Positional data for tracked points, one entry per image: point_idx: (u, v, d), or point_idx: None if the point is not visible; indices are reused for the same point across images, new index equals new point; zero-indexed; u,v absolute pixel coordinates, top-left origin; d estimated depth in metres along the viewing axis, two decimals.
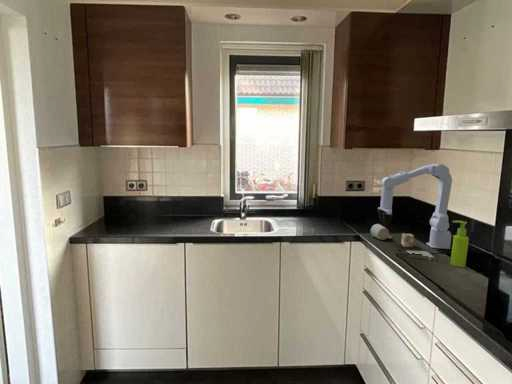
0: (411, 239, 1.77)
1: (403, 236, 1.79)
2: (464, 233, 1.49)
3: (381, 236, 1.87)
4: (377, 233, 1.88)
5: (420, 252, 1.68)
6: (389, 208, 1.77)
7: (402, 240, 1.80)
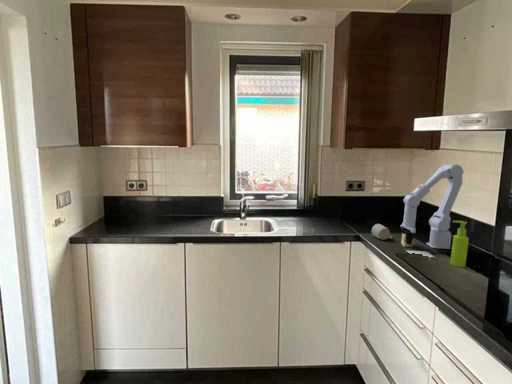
0: None
1: (403, 236, 1.79)
2: (464, 233, 1.49)
3: (382, 236, 1.87)
4: (378, 233, 1.88)
5: (420, 252, 1.68)
6: (412, 226, 1.75)
7: (402, 240, 1.80)
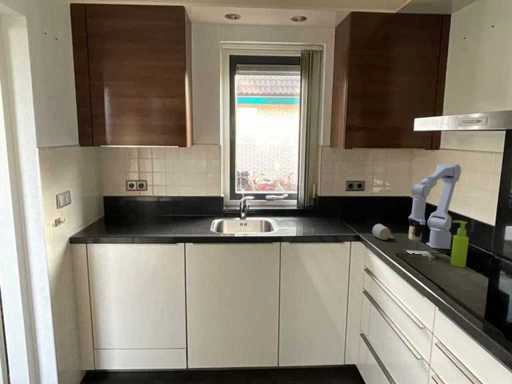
0: None
1: (411, 229, 1.67)
2: (464, 233, 1.49)
3: (383, 236, 1.87)
4: (379, 233, 1.88)
5: (420, 252, 1.68)
6: (422, 218, 1.64)
7: (410, 233, 1.69)
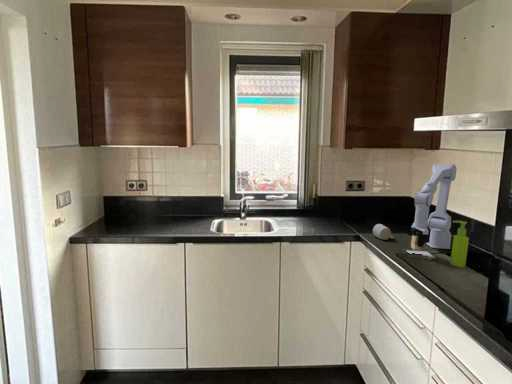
0: None
1: (413, 238, 1.63)
2: (464, 233, 1.49)
3: (383, 236, 1.87)
4: (379, 233, 1.88)
5: (420, 252, 1.68)
6: (425, 227, 1.60)
7: (412, 243, 1.65)
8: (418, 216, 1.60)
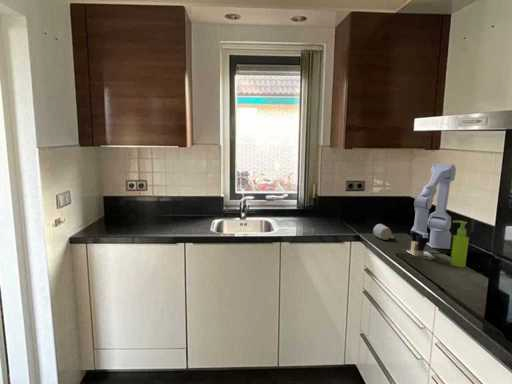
0: None
1: (413, 244, 1.64)
2: (464, 233, 1.49)
3: (384, 236, 1.87)
4: (380, 233, 1.88)
5: None
6: (424, 230, 1.60)
7: (412, 248, 1.65)
8: (418, 219, 1.61)
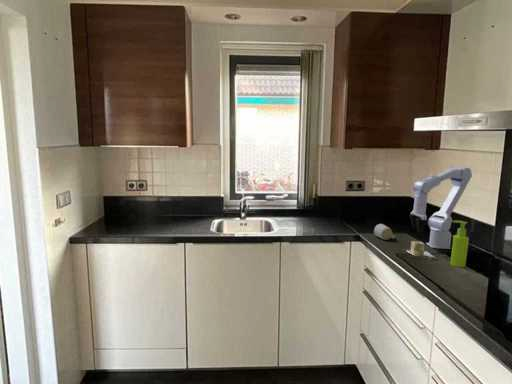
0: (422, 247, 1.62)
1: (413, 244, 1.64)
2: (464, 233, 1.49)
3: (384, 236, 1.88)
4: (380, 233, 1.88)
5: None
6: (423, 213, 1.70)
7: (412, 248, 1.65)
8: (415, 203, 1.71)
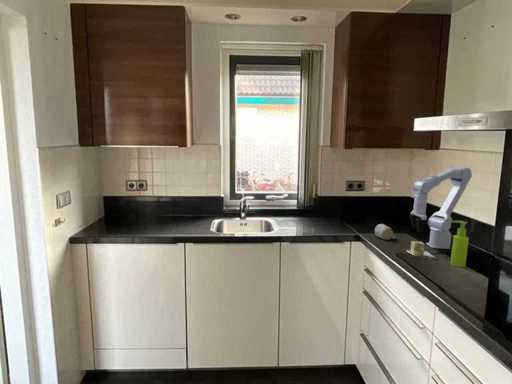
0: (422, 247, 1.62)
1: (413, 244, 1.64)
2: (464, 233, 1.49)
3: (385, 236, 1.88)
4: (381, 233, 1.88)
5: None
6: (423, 213, 1.70)
7: (412, 248, 1.65)
8: (415, 203, 1.71)
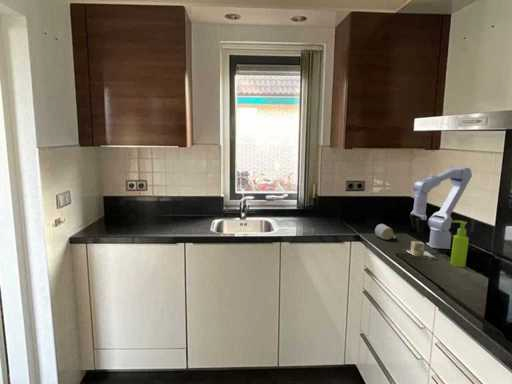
0: (422, 247, 1.62)
1: (413, 244, 1.64)
2: (464, 233, 1.49)
3: (385, 236, 1.88)
4: (381, 233, 1.88)
5: None
6: (423, 213, 1.70)
7: (412, 248, 1.65)
8: (415, 203, 1.71)
